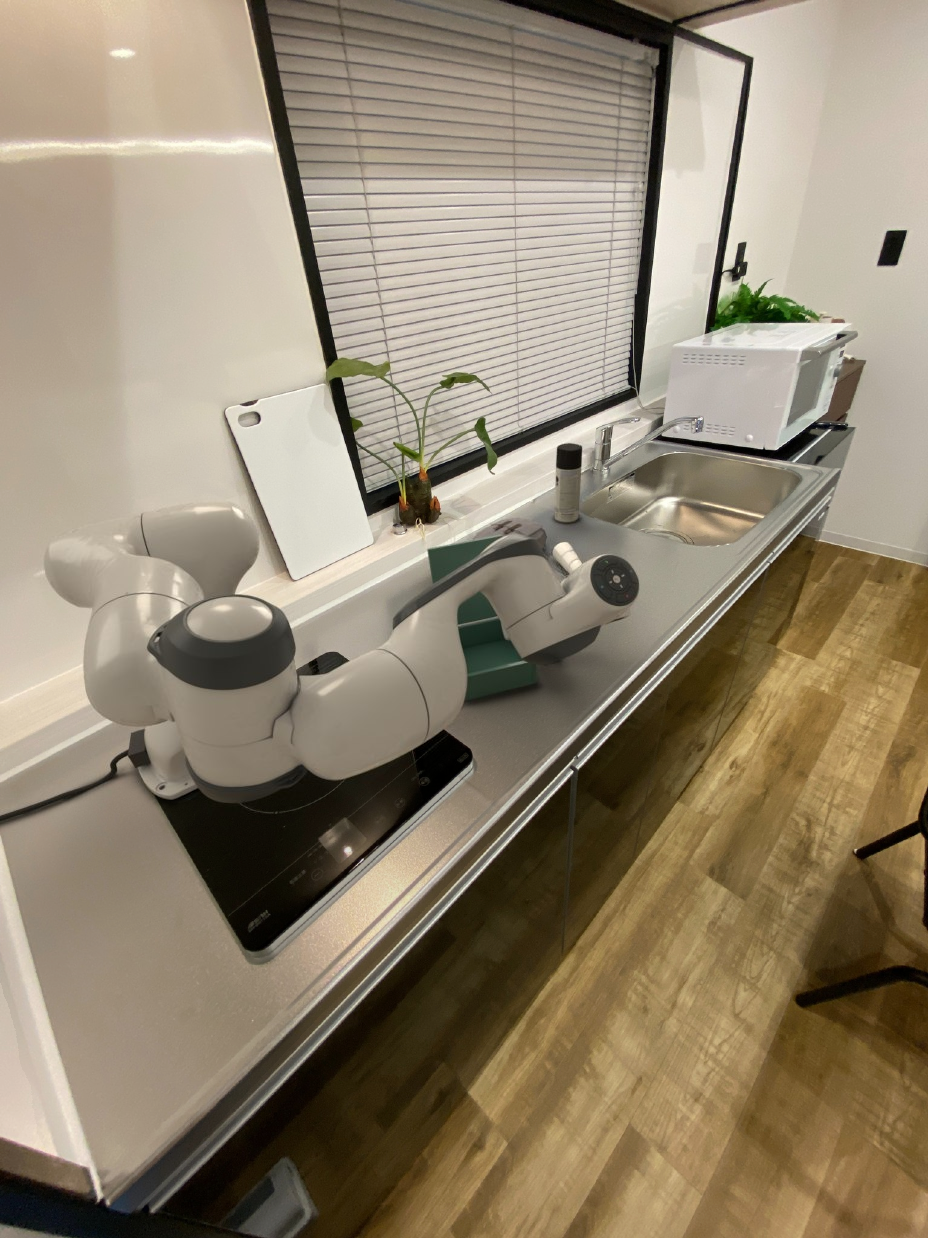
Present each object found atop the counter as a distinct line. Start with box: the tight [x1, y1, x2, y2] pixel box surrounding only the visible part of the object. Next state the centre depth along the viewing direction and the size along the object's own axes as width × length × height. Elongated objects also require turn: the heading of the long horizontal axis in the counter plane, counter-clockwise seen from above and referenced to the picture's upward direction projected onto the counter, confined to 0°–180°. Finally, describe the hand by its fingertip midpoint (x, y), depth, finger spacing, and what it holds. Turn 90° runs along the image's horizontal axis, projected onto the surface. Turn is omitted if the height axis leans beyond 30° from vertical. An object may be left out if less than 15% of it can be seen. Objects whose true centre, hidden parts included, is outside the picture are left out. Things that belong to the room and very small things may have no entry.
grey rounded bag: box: [472, 517, 548, 550], centre depth 132 cm, size 15×8×20 cm
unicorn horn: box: [552, 541, 583, 574], centre depth 119 cm, size 5×24×5 cm, turn 11°
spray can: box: [554, 442, 583, 524], centre depth 143 cm, size 7×7×20 cm
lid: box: [426, 535, 502, 626], centre depth 97 cm, size 15×14×1 cm
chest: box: [458, 617, 538, 701], centre depth 96 cm, size 15×14×6 cm
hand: (549, 624), depth 96 cm, fingers closed on pepper mill, 4 cm apart
